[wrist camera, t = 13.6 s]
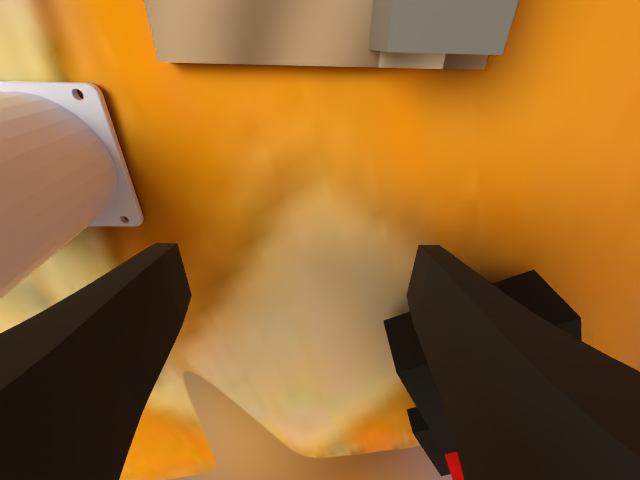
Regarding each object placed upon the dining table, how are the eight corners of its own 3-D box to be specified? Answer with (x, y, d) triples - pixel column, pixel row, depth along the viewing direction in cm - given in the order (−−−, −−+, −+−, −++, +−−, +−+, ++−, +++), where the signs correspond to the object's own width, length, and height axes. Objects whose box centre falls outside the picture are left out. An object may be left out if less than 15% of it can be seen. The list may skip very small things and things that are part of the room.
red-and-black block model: (662, 337, 14) (628, 506, 27) (547, 240, 21) (562, 410, 34) (370, 415, 18) (461, 534, 30) (353, 309, 25) (433, 441, 37)
